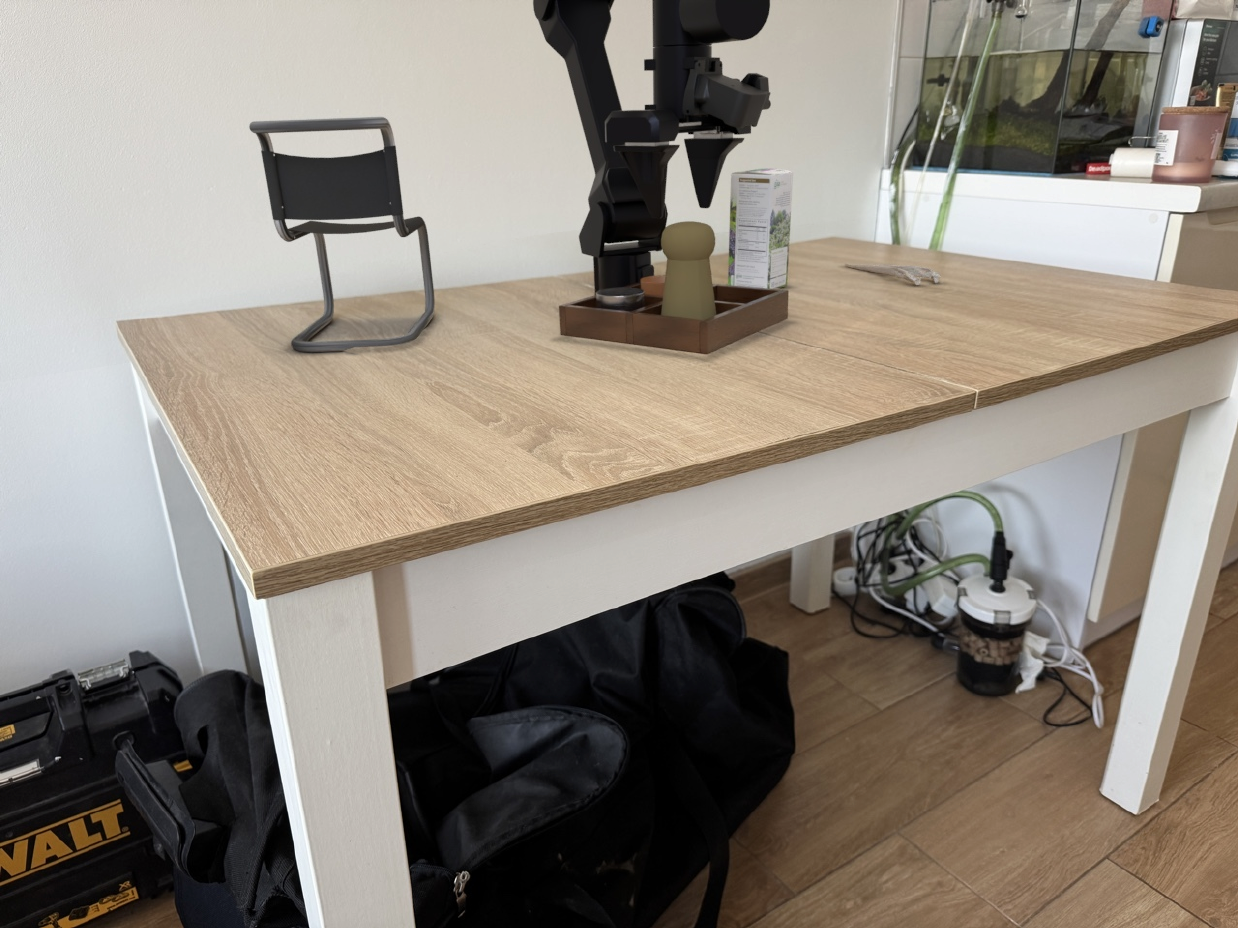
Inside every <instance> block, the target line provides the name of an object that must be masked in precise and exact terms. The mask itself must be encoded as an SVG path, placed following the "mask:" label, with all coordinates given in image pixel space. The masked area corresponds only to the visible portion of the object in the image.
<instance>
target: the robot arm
mask: <svg viewBox="0 0 1238 928" xmlns="http://www.w3.org/2000/svg"><path fill="white" fill-rule="evenodd" d="M614 2H615V0H532V6H533V13H534V16H535V18H536V20H537V21H538V23H539V26H540V29H541V33H542V35H543V37H544V40H545V42H546V43H547V44H548V45H549V46H550V47H551V48H552V49H553V50H554V51H555V52H556V53H557V54H558V55H559V56H560V57H561V58H562V59H563V61H564V63H565V65H566V69H567V73H568V78H569V81H570V85H571V87H572V92H573V96H574V99H575V103H576V108H577V110H578V114H579V118H580V121H581V126H582V129H583V133H584V137H585V141H586V144H587V148H588V152H589V156H590V159H591V163H592V167H593V171H594V179H593V181H592V184H591V188H590V191H589V194H588V197H587V202H588V207H589V208H588V209H589V211H588V213H587V214H586V215H587V216H586V217H585V220H584V222H583V225H582V227H581V229H580V232H579V235H578V240H579V246H580V251H581V254H583V255H585V256H590V257H592V261H593V263H592V265H593V289H594V295H596V292H597V291H599V290H603V289H608V288H619V287H625V286H628V285H631V284H635V283H638V282H641V279H642V278H644V277H648V276H655V266H654V265H653V264H652V252H662V251H663V250H662V247H661V238H662V233H663V231H664V229H665V228H666V227H667V222H668V216H669V213H668V208H667V204H666V193H667V181H668V180H667V177H668V165H669V162H670V160H671V159H672V157H673V156H674V155H675V154H676V153H677V151H678V150H679V148H680V144H670V142H675V140H676V139H677V137H678V135H679V134H687V135H693V137H690V138H689V137H688V138H683V142H684V147H685V152H686V156H687V160H688V164H689V169H690V174H691V179H692V183H693V188H694V193H695V196H696V200H697V202H698V206H699V208H700V209H709V208H710V207H711V205H712V202H713V198H714V195H715V193H716V188H717V187H718V186H717V185H718V182H719V179H720V176H721V173H722V169H723V167H724V164H725V162H726V159H727V156H728V155H729V154H730V153H731V152H732V151H733V150H734V149H735V148H736V147H737V146H738V145H740V144H742V143H743V142H744V141H745V137H734V135H735V136H737V135H739V136H740V135H749V134H750V135H751V134H752V127H753V128H756V127H758V124H759V121H760V118H761V115H762V112H763V110H765V111H766V110H769V109H770V108H771V105H772V102H771V100H770V96H771V92H770V83H769V77H767V76H765V75H763V74H760V73H758V72H748V73H747V74H746V75H745V76H744V77H743V78H742V79H739V78H733V77H729V76H727V75H724V74H723V61H721V57H715V56H714V57H713V51H712V50H713V46H712V45H713V44H720V43H731V42H741V41H747V40H751V39H753V38H754V37H756V36H757V35H758V34H760V32H761V31H762V30H763V28H764V27H765V25H766V23H767V21H768V18H769V14H770V9H771V0H652V2H651V3H652V6H651V7H652V58H645V59H643V71H645V72H647V71H650V72H652V101H653V102H652V104H644V109H625V110H623V108H622V105H621V101H620V97H619V93H618V90H617V86H616V83H615V79H614V75H613V71H612V67H611V64H610V60H609V57H608V53H607V49H606V46H605V45H606V44H605V41H606V38H607V36H608V32H609V28H610V26H611V22H612V15H611V9H612V7H613V5H614Z"/></svg>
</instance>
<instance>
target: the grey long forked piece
mask: <svg viewBox="0 0 1238 928" xmlns="http://www.w3.org/2000/svg"><path fill="white" fill-rule="evenodd" d="M844 266H846V267H848V268H851V269H855V270H860V271H866V272H872V273H876V274H883V275H887V276H888V275H889V276H893V277H896V278H898V279H900V280H905V281H908V282H909V283H912V284H914V285H915V286H920V285H921V280H922V278H924V279H925V278H926V279H929V280H932V281H934V284H938V283H939V282H940V279H941V275H940V272H938V271H934V270H932V269H930V268H929V267H924V266H919V265H895V264H852V263H844ZM924 271H925V272H924Z"/></svg>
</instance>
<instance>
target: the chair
mask: <svg viewBox="0 0 1238 928" xmlns="http://www.w3.org/2000/svg"><path fill="white" fill-rule="evenodd" d="M248 129H249V131H251V133H253V134H255V136H256V137H257V139H258V141H259V144H260V149H261V150H260V153H261V158H262V164H263V169H264V175H265V181H266V185H267V186H266V187H267V192H268V199H269V204H270V210H271V216H272V220H273V224H274V227H275V230H276V232H277V234H278V236H279V237H280V238H281V239H282V240H283V241H284V242H286V243H290V242H291V243H292V242H293V241H296V240H298V239H300V238H302V237H305V236H307V235H309V234H310V235H311V234H313V239H314V242H315V248H316V255H317V261H318V268H319V275H320V281H321V287H322V295H323V303H324V304H323V305H324V306H323V307H324V308H323V314H322V315H321V316H320V317H319V318H317V319H316V320H315V321H314V322H312V323H311V324H310V325H309V326H308V327H306V328H305V329H303V330H302V331H300V333H298V334H297V335H295V336H294V337H293V338H292V340H291V342H290V345H291V347H292V348H293V350H295V351H297V352H303V353H326V352H329V353H330V352H344V351H347V350H351V349H355V348H374V347H375V348H376V347H389V346H390V347H391V346H397V345H403V344H406V343H410V342H412V341H414V340H416V339H418V337H419V335H420V334H421V332H422V331H423V330H424V329H425V328H427V326H428V324H429V323H430V322H431V320H432V319H433V317H434V315H435V307H436V306H435V305H436V304H435V303H436V302H435V300H436V299H435V288H434V280H433V270H432V262H431V261H432V260H431V250H430V242H429V234H428V228H427V225H426V222H425V220H424V219H423V218H422V216H414V217H409V218H405V217H404V207H403V200H402V199H403V198H402V191H401V181H400V171H399V164H398V155H397V147H396V143H395V137H394V136H395V135H394V132H393V127H392V126H391V123H390V121H389V119H387V118H386V117H384V116H365V117H337V118H334V117H333V118H310V119H309V118H307V119H283V120H278V119H277V120H256V121H251V122H250V123H249V126H248ZM361 130H362V131H363V130H364V131H365V130H380V134H381V137H382V142H383V149H380V150H375V151H371V152H367V153H362V154H354V155H346V156H336V157H335V156H333V157H311V156H310V157H309V156H300V155H292V154H291V155H289V154H285V153H280V152H275V151H274V147H273V143H272V139H271V136H270V134H279V133H282V134H283V133H284V134H285V133H307V132H308V133H309V132H311V133H312V132H332V131H333V132H334V131H336V132H337V131H361ZM390 216H391V217H392V220H391V221H385V222H371V223H370V222H369V223H339V222H328V221H342V220H359V219H370V218H371V219H373V218H380V217H390ZM286 220H293V221H306V222H303V223H300V224H297V225H295V226H292V227H288V225H287V223H286ZM326 221H327V222H326ZM389 229H390V230H391V229H395V230H396V231H395V232H396V233H397V234H398V236H399V237H400V238H408V237H409V236H410V235H411V234H413V233H414V232H417V236H418V243H419V252H420V261H421V269H422V270H421V271H422V278H423V290H424V300H425V301H424V302H425V303H424V304H425V306H424V312H423V313H422V314H421V316H420V317H419V318H418V319H417V321H416V322H415V323H414V325H413V326H412V327H411V328H410V329H409V331H408V332H407V333H406V334H404V335H399V336H394V337H387V338H371V339H370V338H369V339H368V338H367V339H348V340H347V339H346V340H345V339H344V340H322V341H321V340H320V341H309V340H310V339H311V338H313V337H314V336H315V335H316V334H318V333H319V332H320V331H321V330H323V329H324V328H325V327H326V326H328V325H329V324H330V323H331V322H332V320H333V318H334V312H335V301H334V300H335V299H334V292H333V285H332V279H331V278H332V277H331V272H330V266H329V259H328V253H327V245H326V240H325V235H351V234H362V233H363V234H364V233H372V232H378V231H379V232H380V231H384V230H385V231H386V230H389Z"/></svg>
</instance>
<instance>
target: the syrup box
mask: <svg viewBox="0 0 1238 928" xmlns="http://www.w3.org/2000/svg"><path fill="white" fill-rule="evenodd" d="M793 176H794V172H793V171H792V170H787V169H783V168H771V167H770V168H755V169H749V170H742V171H735V172H731V173H730V197H729V198H730V202H729V231H728V233H729V234H728V236H729V238H728V240H729V241H728V272H727V275H728V276H727V285H733V286H745V287H757V288H769V289H782V288H785V287H787V286H788V281H789V280H788V278H789V277H788V276H789V261H790V259H789V258H790V257H789V256H790V241H791V239H790V238H791V219H792V216H791V215H792V199H793V179H794V177H793Z"/></svg>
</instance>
